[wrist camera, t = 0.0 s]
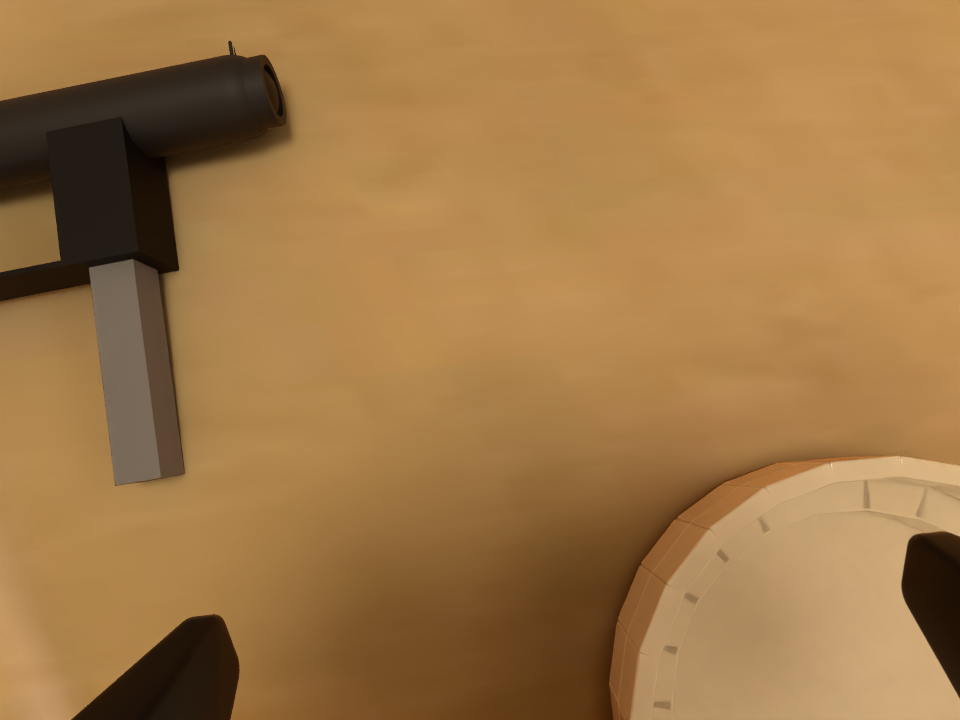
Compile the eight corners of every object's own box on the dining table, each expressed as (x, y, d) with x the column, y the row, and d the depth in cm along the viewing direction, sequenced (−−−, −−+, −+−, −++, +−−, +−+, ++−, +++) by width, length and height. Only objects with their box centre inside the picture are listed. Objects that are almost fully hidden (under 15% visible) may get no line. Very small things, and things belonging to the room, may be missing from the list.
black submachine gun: (320, 446, 22) (250, 2, 23) (-256, 554, 22) (-282, 111, 24) (345, 444, 25) (282, 54, 27) (-157, 538, 25) (-186, 149, 27)
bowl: (1180, 754, 21) (1359, 831, 16) (808, 1053, 20) (891, 1219, 16) (862, 375, 23) (943, 353, 19) (519, 628, 23) (520, 667, 18)
